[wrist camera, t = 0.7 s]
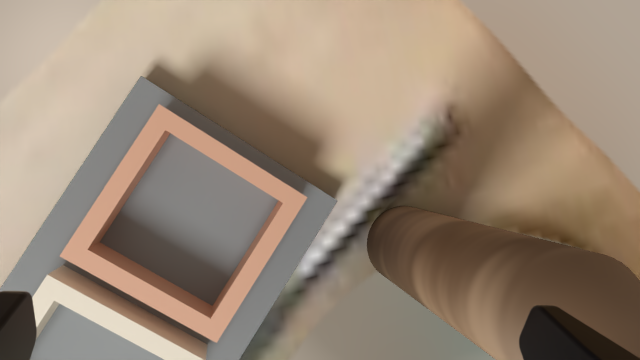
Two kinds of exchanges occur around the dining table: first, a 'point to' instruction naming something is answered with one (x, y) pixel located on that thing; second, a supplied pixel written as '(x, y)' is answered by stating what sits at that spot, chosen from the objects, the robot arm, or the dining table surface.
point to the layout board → (166, 240)
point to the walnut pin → (501, 279)
